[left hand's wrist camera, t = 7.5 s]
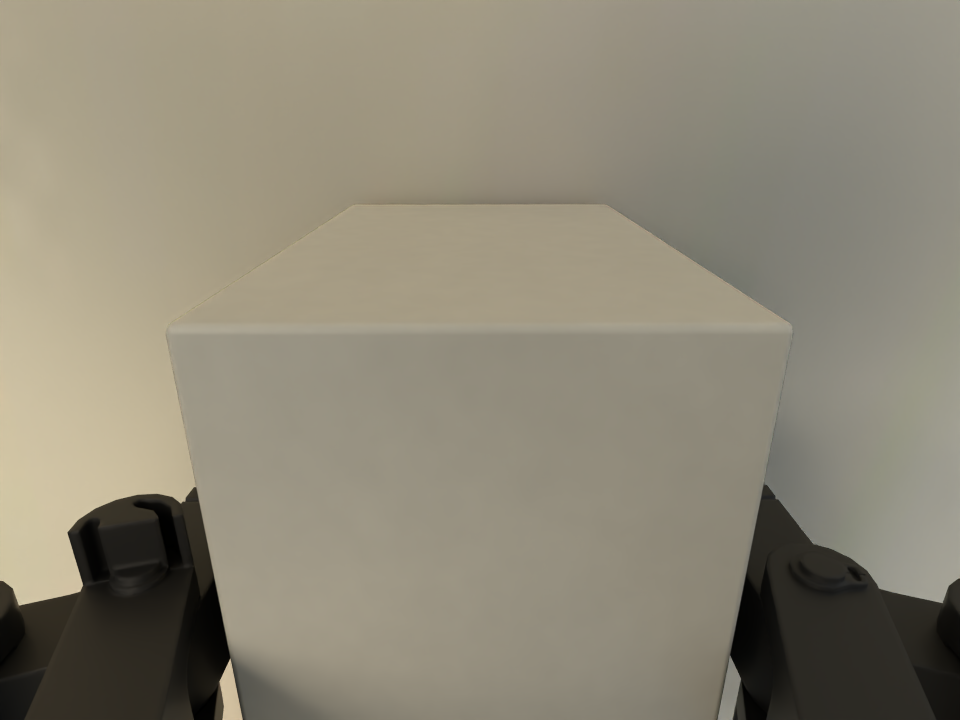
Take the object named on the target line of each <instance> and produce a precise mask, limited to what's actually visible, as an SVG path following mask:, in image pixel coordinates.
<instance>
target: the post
mask: <svg viewBox="0 0 960 720" xmlns="http://www.w3.org/2000/svg"><path fill="white" fill-rule="evenodd" d="M792 337H793V329H792V326H791V324H790V323H789V322H787V321H786V320H784V319H782V318H781V317H779V316H778V315H776V314H775V313H773V312H772V311H770V310H769V309H767V308H766V307H764V306H762V305H761V304H759V303H758V302H756V301H755V300H753V299H752V298H750V297H749V296H747V295H745V294H744V293H742V292H741V291H739V290H738V289H736V288H735V287H733V286H732V285H730V284H729V283H727V282H725V281H724V280H722V279H721V278H719V277H718V276H716V275H715V274H713V273H712V272H710V271H708V270H707V269H705V268H704V267H702V266H701V265H699V264H698V263H696V262H695V261H693V260H691V259H690V258H688V257H687V256H685V255H684V254H682V253H681V252H679V251H678V250H676V249H675V248H673V247H671V246H670V245H668V244H667V243H665V242H664V241H662V240H661V239H659V238H658V237H656V236H654V235H653V234H651V233H650V232H648V231H647V230H645V229H644V228H642V227H641V226H639V225H638V224H636V223H634V222H633V221H631V220H630V219H628V218H627V217H625V216H624V215H622V214H621V213H619V212H617V211H616V210H614V209H613V208H611V207H610V206H608V205H606V204H354V205H352V206H350V207H349V208H347V209H346V210H344V211H343V212H341V213H340V214H338V215H336V216H335V217H333V218H332V219H330V220H329V221H327V222H326V223H324V224H323V225H321V226H320V227H318V228H316V229H315V230H313V231H312V232H310V233H309V234H307V235H306V236H304V237H303V238H301V239H299V240H298V241H296V242H295V243H293V244H292V245H290V246H289V247H287V248H286V249H284V250H283V251H281V252H279V253H278V254H276V255H275V256H273V257H272V258H270V259H269V260H267V261H266V262H264V263H262V264H261V265H259V266H258V267H256V268H255V269H253V270H252V271H250V272H249V273H247V274H245V275H244V276H242V277H241V278H239V279H238V280H236V281H235V282H233V283H232V284H230V285H229V286H227V287H225V288H224V289H222V290H221V291H219V292H218V293H216V294H215V295H213V296H212V297H210V298H208V299H207V300H205V301H204V302H202V303H201V304H199V305H198V306H196V307H195V308H193V309H191V310H190V311H188V312H187V313H185V314H184V315H182V316H181V317H179V318H178V319H176V320H175V321H173V322H171V323H170V324H168V326H167V330H166V338H167V343H168V348H169V353H170V358H171V363H172V368H173V373H174V378H175V383H176V388H177V393H178V398H179V403H180V408H181V413H182V418H183V423H184V428H185V433H186V438H187V443H188V448H189V453H190V458H191V463H192V468H193V473H194V478H195V483H196V488H197V493H198V498H199V503H200V508H201V513H202V518H203V523H204V528H205V533H206V538H207V543H208V548H209V553H210V558H211V563H212V568H213V573H214V578H215V583H216V588H217V593H218V598H219V603H220V608H221V613H222V618H223V623H224V628H225V633H226V638H227V643H228V648H229V653H230V658H231V663H232V668H233V673H234V678H235V683H236V688H237V693H238V698H239V703H240V708H241V713H242V718H243V720H717V718H718V713H719V708H720V703H721V698H722V693H723V688H724V683H725V678H726V673H727V668H728V662H729V657H730V652H731V647H732V642H733V637H734V632H735V627H736V622H737V617H738V612H739V607H740V602H741V596H742V591H743V586H744V581H745V576H746V571H747V566H748V561H749V556H750V551H751V546H752V541H753V535H754V530H755V525H756V520H757V515H758V510H759V505H760V500H761V495H762V490H763V485H764V480H765V474H766V469H767V464H768V459H769V454H770V449H771V444H772V439H773V434H774V429H775V424H776V419H777V413H778V408H779V403H780V398H781V393H782V388H783V383H784V378H785V373H786V368H787V363H788V358H789V352H790V347H791V342H792Z"/></svg>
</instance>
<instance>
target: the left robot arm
mask: <svg viewBox="0 0 960 720" xmlns="http://www.w3.org/2000/svg"><path fill="white" fill-rule="evenodd" d="M68 536H69V539H70V543H71V546H72V549H73V553H74V556H75V559H76V563H77V566H78V569H79V572H80V576H81V579H82V582H83V587H82V589H81V592H78V593H74V594H71V595H67V596H62V597H57V598H53V599H48V600H43V601H39V602H34V603H30V604H25V605H20V606H19V605H18V602H17V599H16V597H15V594H14V591H13V588H11V587H10V586H9V585H7V584H6V583H5V582H3V581H0V720H222V718H223V708H224V705H223V698H222V692H221V687H220V682H219V681H220V679H221V677H222V675H223V673H224V670H225V668H226V666H227V664H228V662H229V660H230V653H229V648H228V643H227V638H226V633H225V628H224V623H223V618H222V613H221V608H220V603H219V598H218V593H217V588H216V583H215V578H214V573H213V568H212V563H211V558H210V553H209V548H208V543H207V538H206V533H205V528H204V523H203V518H202V513H201V508H200V503H199V498H198V493H197V488H196V487H194V488H193V489H192V491H191V492H190V493H189V494H188V496H187V497H186V501H185V502H182V503H179V502H178V501H177V500H175V499H174V498H173V497H169V496H165V495H160V494H146V495H135V496H131V497H127V498H123V499H118V500H115V501H113V502H110V503H108V504H105V505H103V506H101V507H98V508H96V509H94V510H93V511H91V512H90V513H88V514H87V515H85V516H84V517H82V518H81V519H79V520H78V521H77V522H76V523H75V524H74V526H73V527H72V528H71V529H70V530H69V531H68ZM730 656H731V658H732V660H733V662H734V664H735V666H736V669H737V671H738V673H739V675H740V677H741V682H740V687H739V692H738V696H737V701H736V706H735V711H734V715H733V720H960V579H957V580H956V581H955V582H953V583H952V584H951V585H949V587H948V590H947V593H946V596H945V598H944V601H943V603H939V602H934V601H929V600H925V599H920V598H915V597H911V596H906V595H901V594H897V593H892V592H889V591H885V590H881V589H879V588H878V586H877V584H876V583H875V581H874V580H873V578H872V577H871V576H870V574H869V573H868V572H867V571H866V570H865V569H864V568H863V567H861V566H860V565H859V564H857V563H856V562H855V561H853V560H852V559H851V558H849V557H847V556H844V555H842V554H840V553H838V552H836V551H834V550H832V549H829V548H825V547H821V546H818V545H814V544H813V543H812V542H811V541H810V540H809V538H808V537H807V536H806V535H805V533H804V532H803V531H802V529H801V528H800V527H799V526H798V524H797V523H796V522H795V521H794V519H793V518H792V517H791V515H790V514H789V513H788V512H787V510H786V509H785V508H784V506H783V505H782V504H781V503H780V501H779V500H776V499H775V495H774V494H773V492H772V491H771V490H770V489H769V487H768V486H767V485H763V490H762V495H761V500H760V505H759V510H758V515H757V520H756V525H755V530H754V535H753V541H752V546H751V551H750V556H749V561H748V566H747V571H746V576H745V581H744V586H743V591H742V596H741V602H740V607H739V612H738V617H737V622H736V627H735V632H734V637H733V642H732V647H731V652H730Z"/></svg>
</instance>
